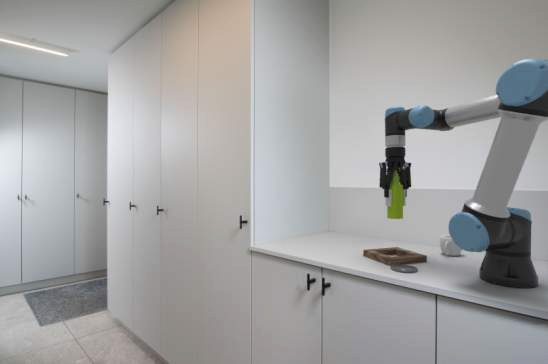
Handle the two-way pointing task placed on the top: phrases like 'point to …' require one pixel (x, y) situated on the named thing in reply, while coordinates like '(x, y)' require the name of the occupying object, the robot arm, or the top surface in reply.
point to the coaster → (404, 268)
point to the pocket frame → (402, 257)
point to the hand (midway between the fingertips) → (395, 205)
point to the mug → (449, 246)
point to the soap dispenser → (396, 198)
